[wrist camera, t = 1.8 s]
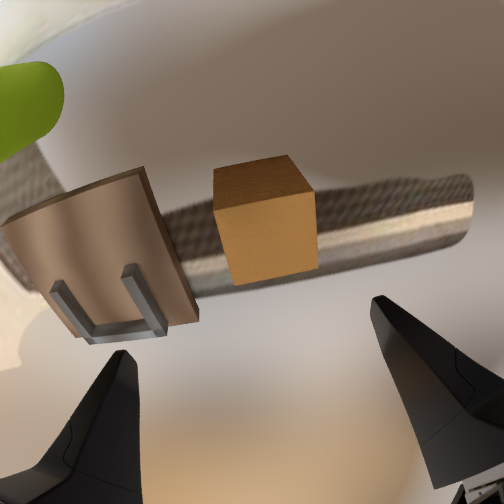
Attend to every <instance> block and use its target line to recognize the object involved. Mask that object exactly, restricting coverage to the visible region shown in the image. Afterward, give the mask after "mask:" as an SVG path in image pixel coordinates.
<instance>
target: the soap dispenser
mask: <svg viewBox="0 0 504 504" xmlns="http://www.w3.org/2000/svg"><path fill="white" fill-rule="evenodd" d="M63 103H64V88H63V83H62V80H61V77H60V75H59V73H58V72H57V71H56V69H55V68H54V67H52V66H51V65H49V64H48V63H45V62H30V63H22V64H15V65H9V66H3V67H0V163H1V162H3V161H4V160H6V159H7V158H9V157H10V156H12V155H13V154H15V153H16V152H18V151H20V150H21V149H23V148H24V147H26V146H28V145H29V144H31V143H33V142H34V141H36V140H38V139H39V138H41V137H43V136H45V135H46V134H47V133H49V132H50V131H51V129H52V128H53V127H54V126H55V124H56V123H57V121H58V119H59V117H60V114H61V111H62V108H63Z"/></svg>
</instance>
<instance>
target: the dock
mask: <svg viewBox="0 0 504 504" xmlns="http://www.w3.org/2000/svg"><path fill="white" fill-rule="evenodd" d="M0 228H1V230H2V232H3V234H4V236H5V238H6V239H7V241H8V243H9V245H10V246H11V248H12V250H13V252H14V253H15V255H16V257H17V258H18V260H19V261H20V263H21V265H22V266H23V268H24V269H25V271H26V272H27V274H28V276H29V277H30V279H31V280H32V281H33V283H34V284H35V286H36V287H37V289H38V290H39V292H40V293H41V294H42V296H43V297H44V299H45V300H46V301H47V303H48V304H49V305H50V307H51V308H52V309H53V310H54V312H55V313H56V314H57V316H58V317H59V318H60V319H61V321H62V322H63V323H64V324H65V326H66V327H67V328H68V329H69V330H70V332H71V333H72V334H73V335H74V336H75V338H79V337H83V338H84V339H85V340H86V341H87V342H88V344H89V345H91V344H102V343H112V342H122V341H130V340H139V339H147V338H155V337H162V336H167V331H168V326H175V325H181V324H187V323H194V322H199V308H198V305H197V303H196V301H195V298H194V296H193V294H192V292H191V289H190V287H189V284H188V282H187V280H186V277H185V275H184V273H183V270H182V268H181V265H180V263H179V260H178V258H177V255H176V253H175V250H174V248H173V245H172V243H171V240H170V238H169V235H168V233H167V230H166V227H165V225H164V222H163V219H162V217H161V214H160V211H159V209H158V206H157V203H156V200H155V198H154V195H153V192H152V189H151V186H150V183H149V180H148V178H147V175H146V172H145V169H144V166H142V167H139V168H135V169H132V170H129V171H126V172H123V173H120V174H117V175H114V176H111V177H108V178H105V179H102V180H99V181H96V182H94V183H91V184H88V185H85V186H83V187H80V188H77V189H75V190H72V191H70V192H67V193H65V194H62V195H60V196H57V197H55V198H52V199H50V200H48V201H45V202H43V203H41V204H38V205H36V206H34V207H31V208H29V209H27V210H25V211H23V212H21V213H18V214H16V215H14V216H12V217H10V218H8V219H7V220H6V222H5V223H4V224H3V225H2V226H1V227H0Z"/></svg>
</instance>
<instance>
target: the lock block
mask: <svg viewBox="0 0 504 504" xmlns="http://www.w3.org/2000/svg"><path fill="white" fill-rule="evenodd" d="M213 212H214V216H215V220H216V223H217V227H218V230H219V234H220V237H221V241H222V245H223V248H224V252H225V255H226V259H227V262H228V266H229V269H230V273H231V276H232V279H233V283H234V286H236V285H241V284H246V283H251V282H256V281H261V280H266V279H270V278H275V277H280V276H285V275H289V274H294V273H299V272H303V271H308V270H312V269H317V268H318V248H317V227H316V209H315V194H314V190H313V189H312V187H311V186H310V185H309V183H308V182H307V180H306V179H305V178H304V176H303V175H302V174H301V172H300V171H299V169H298V168H297V167H296V165H295V164H294V163H293V162H292V160H291V159H290V158H289V156H288V155H282V156H277V157H271V158H266V159H260V160H255V161H250V162H245V163H240V164H235V165H230V166H226V167H221V168H216V169H214V180H213Z"/></svg>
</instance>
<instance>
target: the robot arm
mask: <svg viewBox="0 0 504 504" xmlns="http://www.w3.org/2000/svg"><path fill="white" fill-rule="evenodd" d="M370 317H371V321H372V323H373V327H374V330H375V333H376V335H377V339H378V342H379V345H380V348H381V351H382V354H383V357H384V359H385V361H386V363H387V366H388V368H389V370H390V372H391V375H392V377H393V380H394V382H395V384H396V387H397V389H398V392H399V394H400V396H401V398H402V401H403V404H404V406H405V408H406V411H407V414H408V416H409V418H410V421H411V424H412V427H413V429H414V432H415V434H416V437H417V440H418V443H419V445H420V448H421V451H422V454H423V457H424V459H425V463H426V466H427V469H428V472H429V475H430V478H431V481H432V484H433V487H434V489H438V488H441V487H445V486H447V485H450V484H453V483H456V482H459V481H462V482H463V483H462V484H461V485H460V487H459V489H458V491H457V493H456V495H455V497H454V499H453V501H452V503H451V504H504V379H503V378H501V377H499V376H498V375H496V374H494V373H493V372H491V371H489V370H488V369H486V368H484V367H483V366H481V365H480V364H478V363H477V362H475V361H474V360H472V359H471V358H469V357H468V356H466V355H465V354H464V353H463V352H461V351H460V350H459V349H457V348H455V347H454V346H453V345H452V344H451V343H449V342H447V340H445V339H444V338H443V337H441V336H440V335H439V334H437V333H436V332H435V331H433V330H432V329H430V328H429V327H428V326H426V325H425V324H424V323H422V322H421V321H419V320H418V319H417V318H415V317H414V316H413V315H411V314H410V313H408V312H407V311H405V310H404V309H403V308H401V307H400V306H398V305H397V304H395V303H394V302H393V301H391V300H390V299H389V298H387V297H386V296H384V295H380V296H377V297H374V298H373V299H372V303H371V309H370ZM139 414H140V397H139V383H138V367H137V363H136V361H135V360H134V359H133V357H132V356H131V355H130V354H129V353H128V352H127V351H126V350H117V351H115V352H114V354H113V355H112V356H111V358H110V359H109V361H108V362H107V363H106V365H105V366H104V368H103V369H102V371H101V372H100V374H99V375H98V377H97V378H96V379H95V381H94V382H93V384H92V385H91V387H90V388H89V390H88V391H87V393H86V394H85V396H84V397H83V399H82V401H81V402H80V403H79V405H78V407H77V408H76V410H75V411H74V413H73V414H72V416H71V417H70V420H68V422H67V423H66V425H65V427H64V428H63V430H62V431H61V433H60V434H59V436H58V437H57V438H56V440H55V441H54V443H53V444H52V445H51V447H50V448H49V449H48V451H47V452H46V453H45V455H44V456H43V457H42V459H41V460H40V461H39V462H38V464H36V465H35V466H34V467H32V468H30V469H28V470H25V471H22V472H20V473H17V474H14V475H11V476H8V477H5V478H2V479H0V504H143V499H142V488H141V471H140V443H139V442H140V435H139V434H140V432H139V425H140V423H139V422H140V420H139V418H140V415H139Z"/></svg>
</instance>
